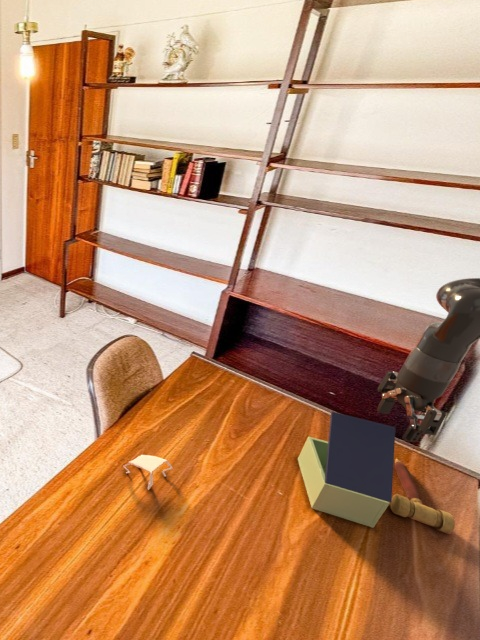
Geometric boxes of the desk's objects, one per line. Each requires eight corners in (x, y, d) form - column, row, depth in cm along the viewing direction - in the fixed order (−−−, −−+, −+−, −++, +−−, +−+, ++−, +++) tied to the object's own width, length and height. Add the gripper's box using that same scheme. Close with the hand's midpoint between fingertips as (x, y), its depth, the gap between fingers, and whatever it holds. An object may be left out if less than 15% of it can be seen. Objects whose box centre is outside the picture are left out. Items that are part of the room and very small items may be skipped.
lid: (330, 411, 97) (332, 411, 96) (393, 427, 93) (395, 427, 92) (324, 482, 93) (326, 483, 92) (389, 501, 89) (391, 502, 88)
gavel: (377, 446, 111) (423, 461, 107) (371, 458, 113) (416, 473, 108) (401, 504, 93) (458, 524, 89) (393, 517, 95) (448, 538, 91)
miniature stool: (139, 496, 98) (142, 483, 96) (120, 469, 105) (123, 456, 103) (178, 482, 102) (182, 469, 100) (157, 457, 109) (160, 444, 107)
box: (297, 459, 110) (308, 436, 106) (350, 474, 106) (364, 451, 102) (311, 508, 97) (324, 484, 93) (373, 528, 93) (389, 503, 89)
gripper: (477, 394, 77) (436, 453, 84) (422, 352, 90) (391, 406, 97) (434, 389, 78) (398, 448, 85) (386, 348, 91) (358, 402, 98)
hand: (394, 425), depth 91 cm, fingers open, 8 cm apart
